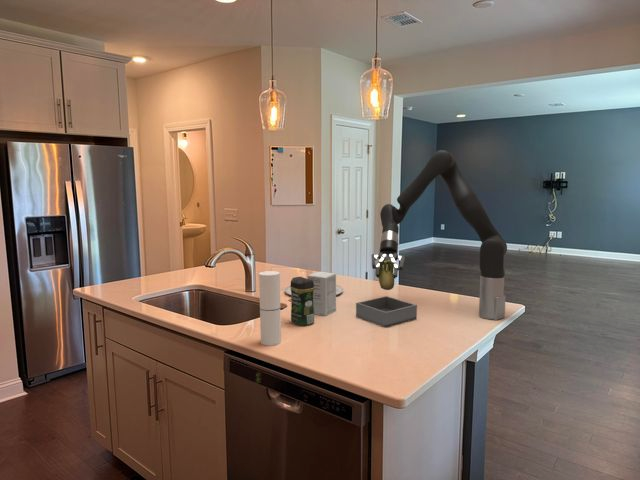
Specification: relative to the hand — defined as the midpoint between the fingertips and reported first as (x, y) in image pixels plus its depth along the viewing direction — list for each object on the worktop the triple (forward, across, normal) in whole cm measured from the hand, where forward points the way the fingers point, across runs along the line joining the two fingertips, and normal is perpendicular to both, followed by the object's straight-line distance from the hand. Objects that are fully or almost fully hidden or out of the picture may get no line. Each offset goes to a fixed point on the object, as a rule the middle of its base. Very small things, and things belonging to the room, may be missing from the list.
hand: (386, 276), depth 181 cm
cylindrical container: (+38, -37, -12) cm, 54 cm away
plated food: (-12, -40, +39) cm, 57 cm away
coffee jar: (+21, -32, +4) cm, 39 cm away
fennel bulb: (+3, 0, +5) cm, 6 cm away
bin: (+12, 0, +14) cm, 18 cm away
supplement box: (+10, -28, +16) cm, 33 cm away
